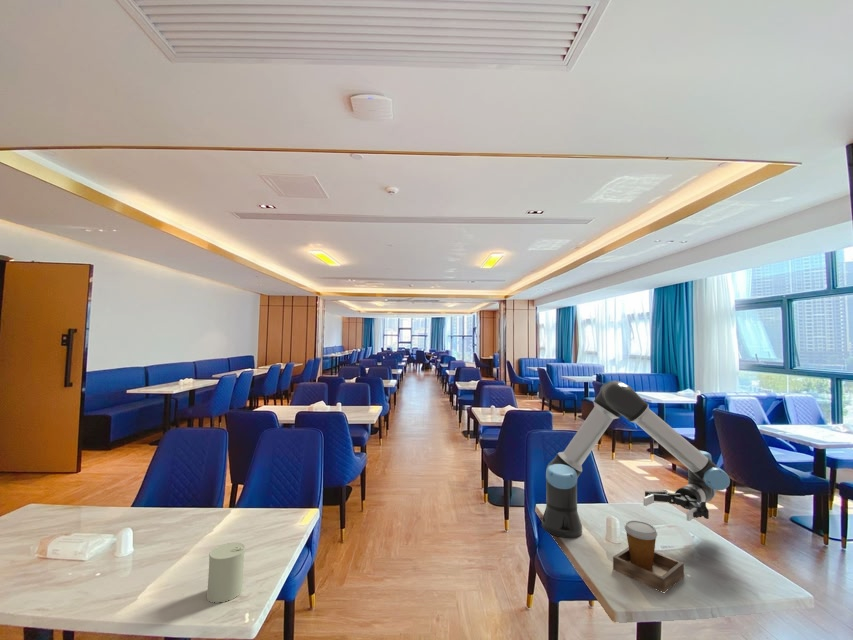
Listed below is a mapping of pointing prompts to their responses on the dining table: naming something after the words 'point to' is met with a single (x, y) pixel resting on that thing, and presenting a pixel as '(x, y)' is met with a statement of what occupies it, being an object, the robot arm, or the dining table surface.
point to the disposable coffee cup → (641, 543)
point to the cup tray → (651, 570)
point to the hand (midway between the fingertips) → (665, 508)
